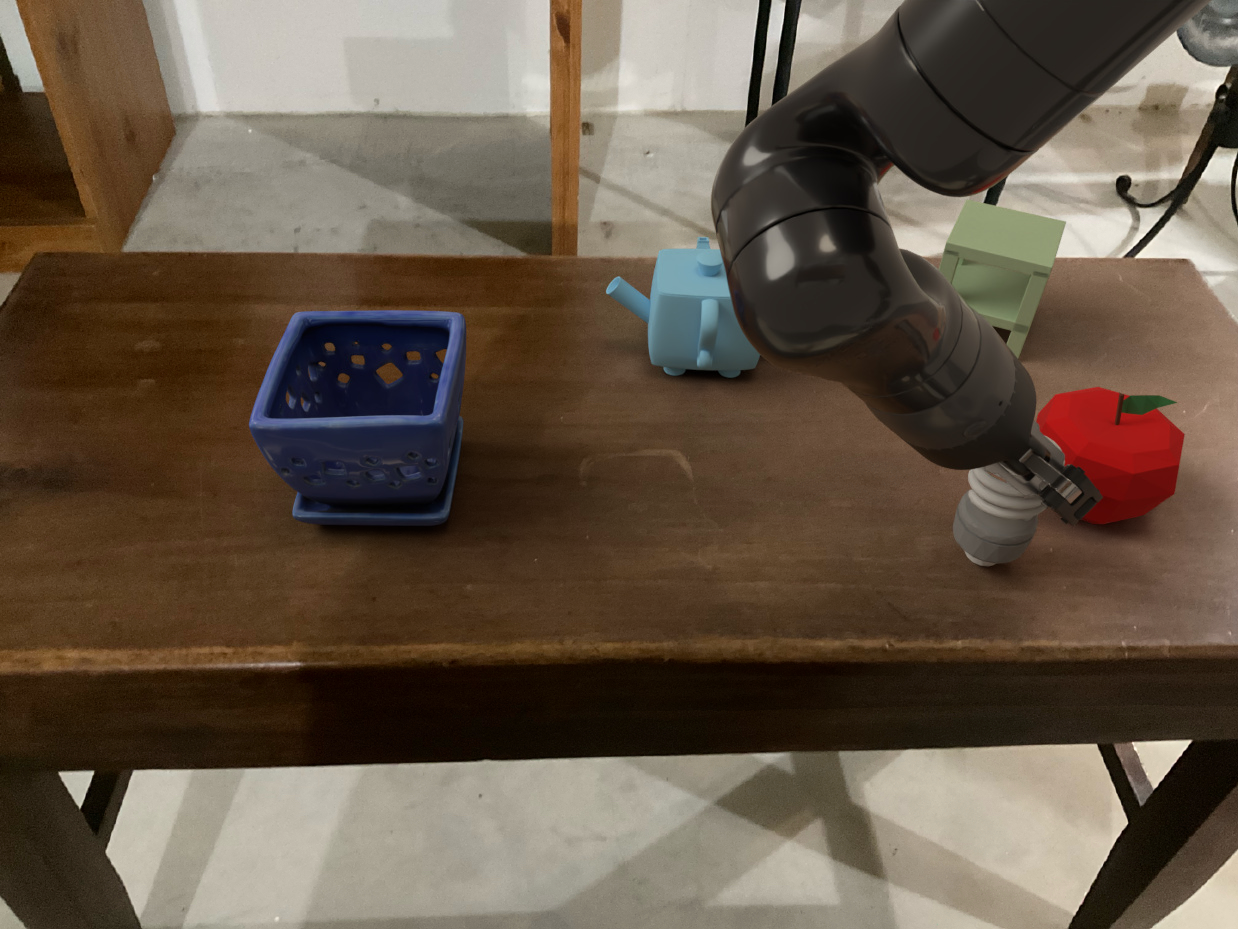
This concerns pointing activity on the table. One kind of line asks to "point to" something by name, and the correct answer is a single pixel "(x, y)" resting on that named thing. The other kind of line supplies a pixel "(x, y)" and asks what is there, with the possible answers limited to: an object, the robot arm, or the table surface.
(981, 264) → the green side table
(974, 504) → the light bulb
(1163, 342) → the table surface
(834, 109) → the robot arm
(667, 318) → the teapot
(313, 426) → the flower pot
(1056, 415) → the apple
